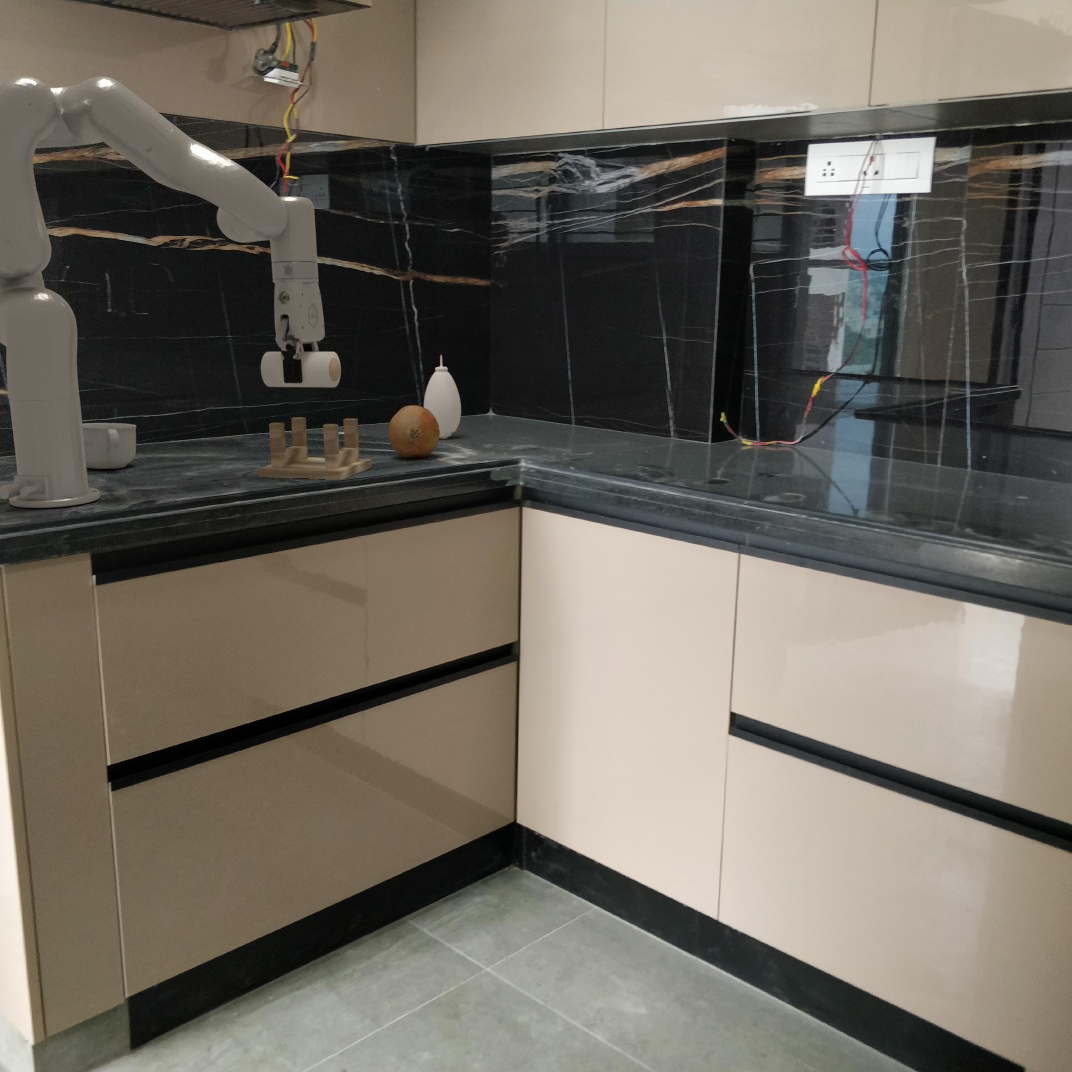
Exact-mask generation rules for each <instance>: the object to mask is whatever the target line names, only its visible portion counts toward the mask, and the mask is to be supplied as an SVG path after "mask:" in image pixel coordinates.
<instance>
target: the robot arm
mask: <svg viewBox="0 0 1072 1072" xmlns="http://www.w3.org/2000/svg"><path fill="white" fill-rule="evenodd" d="M102 142H103V143H104V144H106V145H107V146H108V147H109V148H111V149H112V150H114V151H115V152H117V153H118V154H120V155H121V156H122V157H123V158H125V159H126V160H127V161H129V162H130V163H131V164H132V165H134V166H136V167H137V168H138V169H140V171H142V172H143V173H145V174H146V175H147V176H148V177H150V178H151V179H153V180H154V181H155V182H157V183H158V184H161V185H163V186H166V187H168V188H170V189H174V190H176V191H181V192H184V193H187V194H190V195H195V196H197V197H200V198H202V199H204V200H206V201H207V202H208V203H210V204H213V205H214V206H216V207H218V210H217V212H216V221H217V226H218V228H219V230H220V231H221V233H222V234H223V235H225V237H226V238H228V239H230V240H232V241H233V242H237V243H255V242H261V241H270V242H269V243H270V257H271V260H270V261H271V273H272V283H274V301H273V302H274V304H273V305H274V310H273V311H274V329H275V337H274V338H275V342H276V344H277V346H278V350H279V352H281V359H282V361H283V376H284V382H285V383H302V381H303V379H302V363H301V359H298V358H299V352H320V351H319V347H320V345H321V344H320V343H321V341H322V340H323V339H324V338H325V336H326V335H325V334H326V331H325V320H324V311H323V309H324V308H323V302H322V295H321V290H320V287H319V268H318V267H319V266H318V252H317V251H318V250H317V248H318V247H317V235H316V219H315V218H316V216H315V207H314V203H313V202H312V200H311V199H310V198H308V197H305V196H296V195H295V196H290V195H289V196H284V195H283V196H279V195H277V193H276V192H275V191H274V190H272V189H271V188H270V187H269V186H268V185H266V184H265V182H263V181H261V180H260V179H259V178H258V177H257V176H256V175H254V174H253V173H251V172H250V171H249V170H248V169H246V168H245V167H244V166H242V165H240V164H239V163H237V162H235V161H234V160H232V159H230V158H228V157H227V156H226V155H223V154H221V153H219V152H217V151H215V150H213V149H212V148H210V147H208V146H207V145H205V144H203V143H201V142H199V141H198V140H196V139H194V138H191V137H190V136H189V135H187V133H185V132H184V131H182V130H181V129H180V128H178V127H177V126H176V125H175V124H174V123H172V122H171V121H170V120H168V119H167V118H166V117H165V116H164V115H162V114H161V113H159V112H158V111H157V110H156V109H155V108H153V107H152V106H151V105H150V104H149V103H147V101H145V100H143V99H142V98H140V97H139V96H138V95H137V94H136V93H135V92H134V91H132V90H130V89H129V88H128V87H127V86H125V84H123V83H121V82H120V81H118V80H116V79H114V78H112V77H110V76H103V75H101V76H100V75H99V76H93V77H91V78H87V79H86V80H84V81H81V82H80V83H78V84H76V85H68V86H58V87H57V86H56V87H49V86H48V85H47V84H46V83H45V82H43V81H42V80H40V79H38V78H36V77H33V76H30V75H17V76H12V77H10V78H7V79H5V80H4V81H2V82H1V83H0V344H2V345H3V346H5V347H6V348H5V349H6V356H5V357H6V359H5V360H6V363H5V364H6V365H5V366H6V379H7V380H6V382H7V391H8V392H7V393H8V400H9V407H10V417H11V418H10V419H11V427H12V432H13V433H12V434H13V442H14V452H15V461H16V463H15V464H16V470H17V471H16V472H17V475H14V476H13V479H14V481H13V482H12V484H5V485H2V486H0V499H1V500H7V499H8V502H9V504H10V505H11V506H12V507H16V508H25V509H26V508H27V509H46V508H47V509H48V508H63V507H69V506H71V507H72V506H77V505H82V504H87V503H91V502H94V501H97V500H98V499H99V500H100V498H101V493H100V492H101V491H100V490H99V489H98V488H95V487H91V486H89V482H88V481H89V480H88V471H87V467H86V458H85V448H84V437H83V427H82V424H83V418H82V408H81V398H80V392H79V389H80V388H79V381H78V361H77V358H78V356H77V355H78V325H77V319H76V315H75V314H74V311H73V310H72V308H71V306H70V305H69V303H68V302H67V301H66V300H65V298H63V296H62V295H61V294H58V293H57V292H55V291H53V290H51V289H48V288H46V286H45V281H44V278H43V273H42V271H44V270H45V269H46V267H47V266H48V265H49V263H50V262H51V258H52V243H51V241H50V237H49V232H48V229H47V225H46V222H45V219H44V214H43V209H42V206H41V203H40V198H39V194H38V191H37V186H36V185H37V184H36V181H35V180H36V179H35V174H34V173H35V172H34V157H35V151H36V149H44V148H45V149H46V148H47V149H48V148H65V147H66V148H67V147H77V146H86V145H87V146H88V145H94V144H99V143H102ZM292 346H293V347H292Z"/></svg>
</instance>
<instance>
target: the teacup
mask: <svg viewBox="0 0 1072 1072" xmlns="http://www.w3.org/2000/svg"><path fill="white" fill-rule="evenodd" d="M82 427H83V437H84V448H85V458H86V468H89V469H94V470H95V469H96V470H102V469H103V470H104V469H105V470H107V469H108V470H110V469H120V468H121V469H122V468H125V467H127V466H128V464H129V463H131V462H132V461H133V460H134V458H135V456H136V451H137V450H136V449H137V430H136V429H137V425H136V424H131V423H116V422H114V423H113V422H112V423H111V422H110V423H109V422H94V423H93V422H92V423H91V422H90V423H89V422H87V423H86V422H85V423H82Z"/></svg>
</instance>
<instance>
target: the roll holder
mask: <svg viewBox="0 0 1072 1072" xmlns="http://www.w3.org/2000/svg"><path fill="white" fill-rule="evenodd" d="M358 419H359V418H344V419H343V420H342V421H343V442H344V447H343V448H340V441H339V437H340V436H339V435H340V434H339V424H338V423H337V424H336V423H326V424H323V425H322V431H323V448H324V450H323V451H324V452H323V453H324V457H315V456H313V457H311V456H308V438H307V419H306V417H300V416H299V417H296V416H295V417H292V418H291V421H290V422H291V437H292V446H289V447H286V433H285V431H286V429H285V422H271V423H269V424H268V427H269V428H268V429H269V430H268V431H269V445H270V459H271V460H270V461H271V464H269V465H265V466H261V467H259V468H258V469H257V470H258V472H257V473H258V478H267V479H268V478H274V479H293V478H309V479H308V480H319V479H325V481H342V480H344V479H347V478H349V477H352V476H354V475H356V474H360V473H362V472H364V471H366V470H370V469H372V459H369V458H360V447H359V444H360V443H359V424H358V423H359V420H358Z"/></svg>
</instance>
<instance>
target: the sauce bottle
mask: <svg viewBox="0 0 1072 1072" xmlns="http://www.w3.org/2000/svg"><path fill="white" fill-rule="evenodd" d="M439 359H440V360H439V362H440V363H439V364H440V365H439V366H437V367H435V369H434V370H435V371H434V373H433V374H432V375H431V377H430V378H429V381H428V384H427V386H426V389H425V394H424V399H423V408H426V409H428V410H429V411H430V412H431V413H432V414H433V415H434V417H435V418H436V420H437V422H438V425H439V430H440V435H439V439H441V440H443V439H444V440H445V439H448V437H452V433H454V432H456V431H457V429H458V427H459V424H460V422H461V416H462V404H461V397H460V394H459V390H458V387H457V385H456V382H455V380H454V378H453V376H452V375H451V373H450V372H449V371H448V370H449V369H448V367H447V366H443V355H442V354H440V357H439Z"/></svg>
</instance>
